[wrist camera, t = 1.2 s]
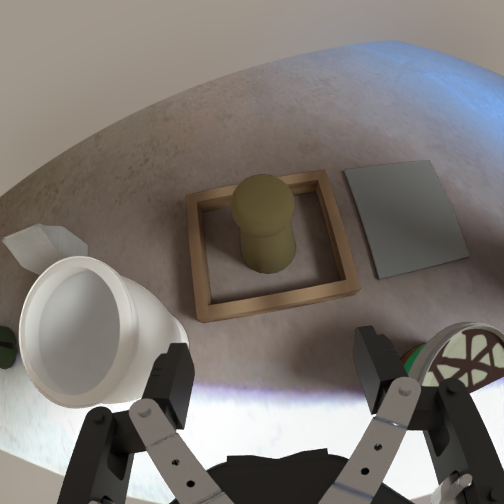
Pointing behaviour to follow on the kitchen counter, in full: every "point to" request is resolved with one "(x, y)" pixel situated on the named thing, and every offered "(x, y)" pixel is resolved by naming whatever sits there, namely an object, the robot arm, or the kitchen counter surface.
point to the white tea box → (44, 246)
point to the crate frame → (278, 301)
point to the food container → (459, 356)
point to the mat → (405, 217)
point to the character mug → (6, 348)
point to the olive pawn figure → (264, 222)
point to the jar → (92, 334)
